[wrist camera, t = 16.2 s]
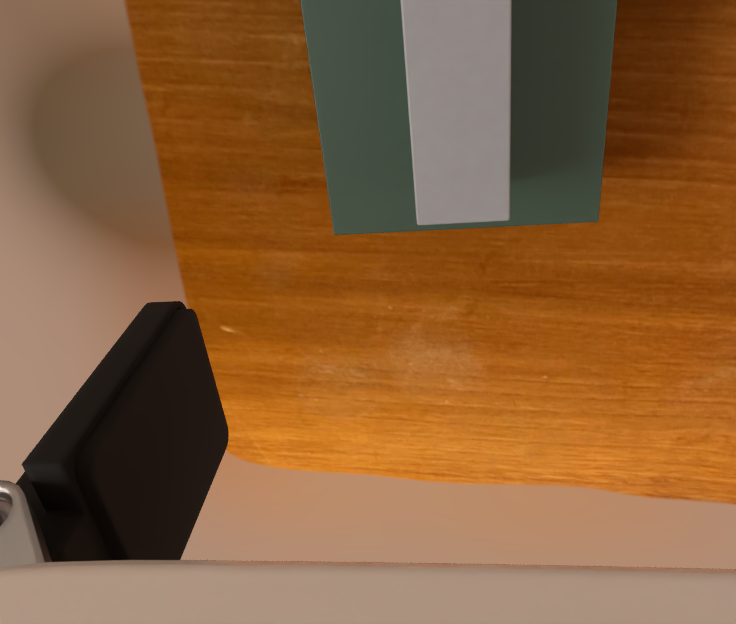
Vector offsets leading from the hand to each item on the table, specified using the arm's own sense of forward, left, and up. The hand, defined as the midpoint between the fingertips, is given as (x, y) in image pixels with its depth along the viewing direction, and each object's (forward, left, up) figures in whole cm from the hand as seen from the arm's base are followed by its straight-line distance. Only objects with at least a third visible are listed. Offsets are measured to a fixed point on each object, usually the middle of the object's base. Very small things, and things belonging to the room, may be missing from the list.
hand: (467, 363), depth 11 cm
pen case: (+2, +2, -19) cm, 19 cm away
